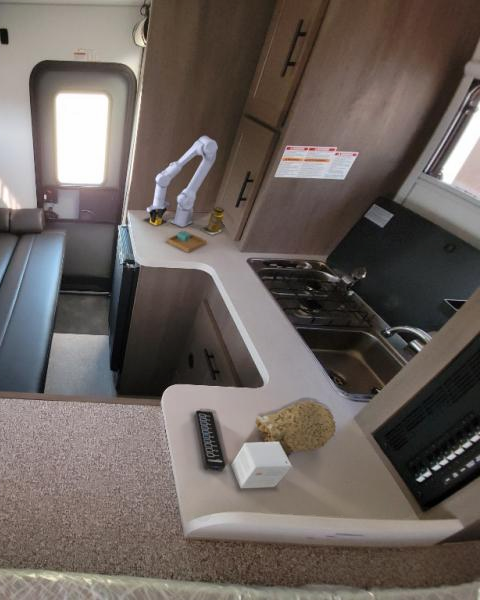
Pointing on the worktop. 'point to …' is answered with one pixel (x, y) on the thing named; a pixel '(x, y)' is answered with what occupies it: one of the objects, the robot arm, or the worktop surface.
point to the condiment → (214, 221)
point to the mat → (151, 223)
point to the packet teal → (183, 236)
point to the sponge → (298, 427)
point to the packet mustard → (156, 221)
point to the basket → (187, 242)
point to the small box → (260, 464)
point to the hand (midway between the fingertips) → (155, 221)
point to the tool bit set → (209, 441)
